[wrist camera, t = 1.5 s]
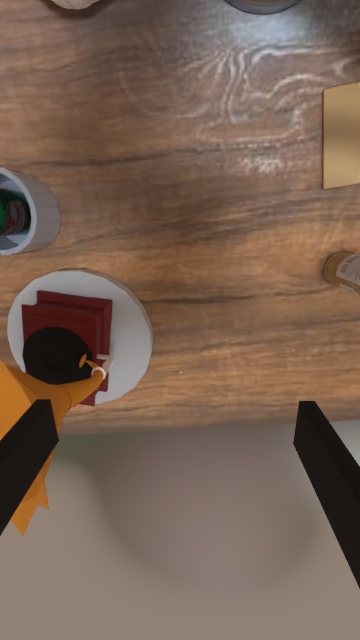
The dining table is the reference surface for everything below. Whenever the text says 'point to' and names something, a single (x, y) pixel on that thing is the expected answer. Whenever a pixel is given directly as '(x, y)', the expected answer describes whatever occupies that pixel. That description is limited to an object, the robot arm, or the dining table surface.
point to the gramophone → (70, 353)
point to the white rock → (74, 3)
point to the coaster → (341, 136)
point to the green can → (14, 213)
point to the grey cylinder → (42, 214)
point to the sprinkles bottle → (344, 270)
